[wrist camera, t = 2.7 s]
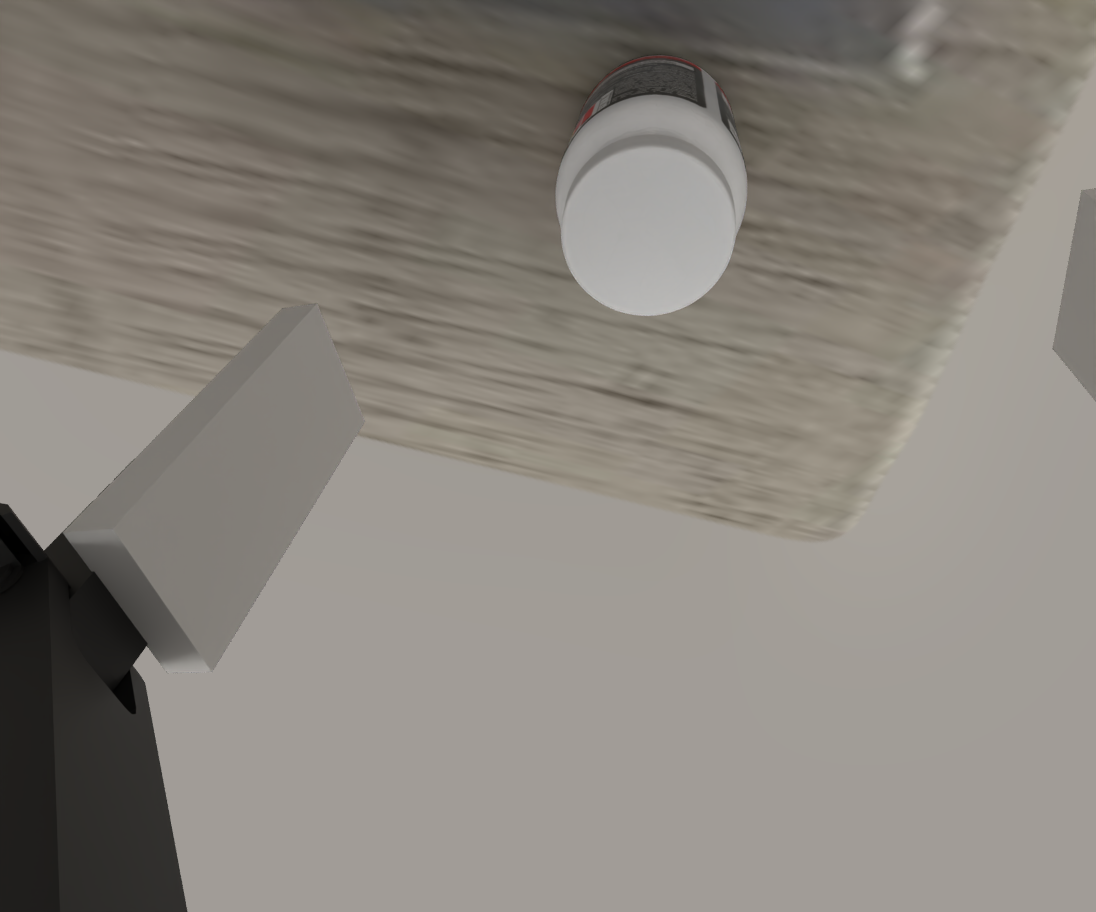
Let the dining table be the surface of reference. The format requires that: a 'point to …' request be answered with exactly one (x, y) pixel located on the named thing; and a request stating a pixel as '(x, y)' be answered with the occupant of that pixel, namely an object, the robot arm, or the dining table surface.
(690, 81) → the pill bottle
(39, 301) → the dining table surface
